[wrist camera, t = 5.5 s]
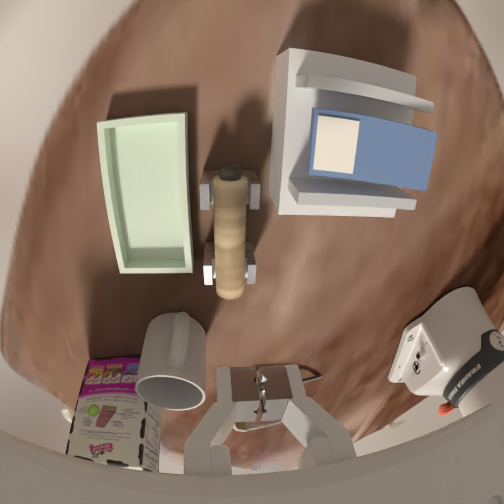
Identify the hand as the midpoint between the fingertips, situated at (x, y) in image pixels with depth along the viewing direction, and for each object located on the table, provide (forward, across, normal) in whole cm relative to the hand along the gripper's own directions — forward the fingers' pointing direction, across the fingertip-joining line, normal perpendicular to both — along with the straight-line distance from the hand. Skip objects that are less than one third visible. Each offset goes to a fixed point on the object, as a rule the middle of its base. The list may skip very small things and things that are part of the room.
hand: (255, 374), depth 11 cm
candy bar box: (+18, +14, +24) cm, 33 cm away
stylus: (+13, 0, +1) cm, 13 cm away
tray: (+17, +8, -1) cm, 19 cm away
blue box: (+9, -8, -8) cm, 14 cm away
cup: (+18, +6, +15) cm, 24 cm away
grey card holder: (+17, -8, -8) cm, 20 cm away
